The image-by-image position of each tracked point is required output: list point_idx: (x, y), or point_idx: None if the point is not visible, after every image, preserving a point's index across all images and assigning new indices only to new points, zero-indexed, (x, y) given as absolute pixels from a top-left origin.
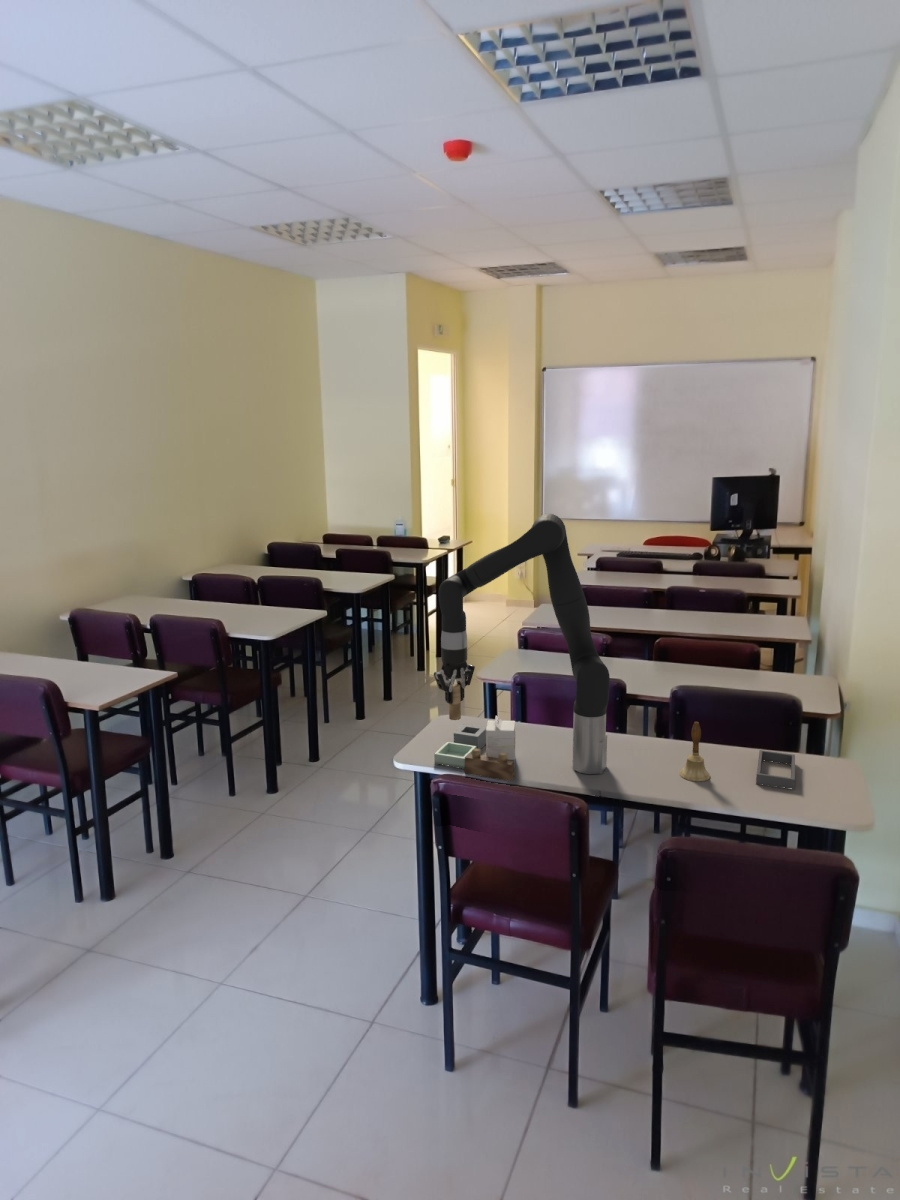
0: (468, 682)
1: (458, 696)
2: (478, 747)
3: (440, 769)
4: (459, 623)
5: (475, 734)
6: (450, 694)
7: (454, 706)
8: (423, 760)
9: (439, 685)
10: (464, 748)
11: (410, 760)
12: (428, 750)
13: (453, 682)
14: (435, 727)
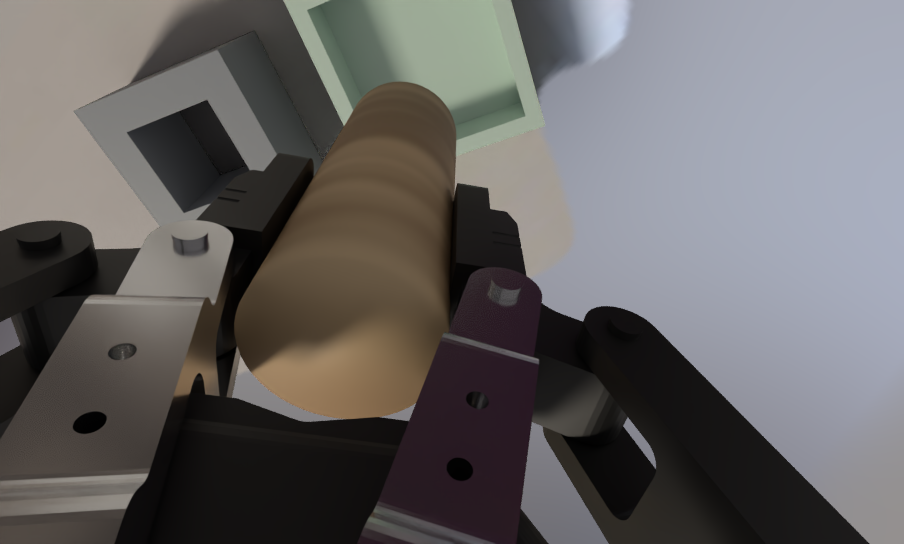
0: (28, 254)
1: (372, 175)
2: (238, 38)
3: (571, 32)
4: None
5: (208, 89)
6: (493, 251)
7: (437, 152)
8: (535, 179)
9: (640, 461)
10: (338, 66)
11: (571, 223)
12: None
13: (469, 357)
14: (242, 366)
